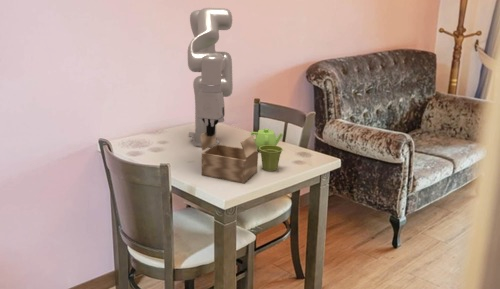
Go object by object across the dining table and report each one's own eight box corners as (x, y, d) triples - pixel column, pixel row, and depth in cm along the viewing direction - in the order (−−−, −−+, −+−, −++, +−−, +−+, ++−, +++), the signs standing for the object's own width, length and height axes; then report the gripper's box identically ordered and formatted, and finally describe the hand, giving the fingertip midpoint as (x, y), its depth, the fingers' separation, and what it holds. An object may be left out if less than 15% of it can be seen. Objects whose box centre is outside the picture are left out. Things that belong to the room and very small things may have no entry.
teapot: (265, 155, 215) (267, 134, 212) (247, 149, 222) (248, 128, 219) (283, 150, 223) (284, 129, 220) (264, 144, 230) (265, 124, 227)
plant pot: (257, 164, 204) (258, 144, 201) (279, 164, 205) (280, 144, 202) (259, 172, 195) (260, 152, 192) (283, 172, 196) (284, 152, 193)
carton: (201, 175, 190) (201, 153, 187) (216, 165, 201) (216, 144, 198) (244, 183, 183) (245, 160, 181) (257, 172, 195) (258, 150, 192)
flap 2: (256, 149, 191) (257, 149, 191) (245, 157, 182) (246, 157, 181) (251, 135, 190) (252, 134, 190) (240, 142, 181) (241, 142, 180)
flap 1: (203, 150, 188) (202, 150, 188) (215, 142, 197) (214, 142, 197) (201, 135, 186) (199, 135, 186) (213, 128, 196) (212, 128, 196)
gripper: (188, 88, 184) (189, 135, 190) (225, 92, 180) (224, 140, 185) (197, 85, 191) (197, 130, 197) (233, 89, 186) (232, 135, 192)
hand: (210, 135), depth 191 cm, fingers closed
